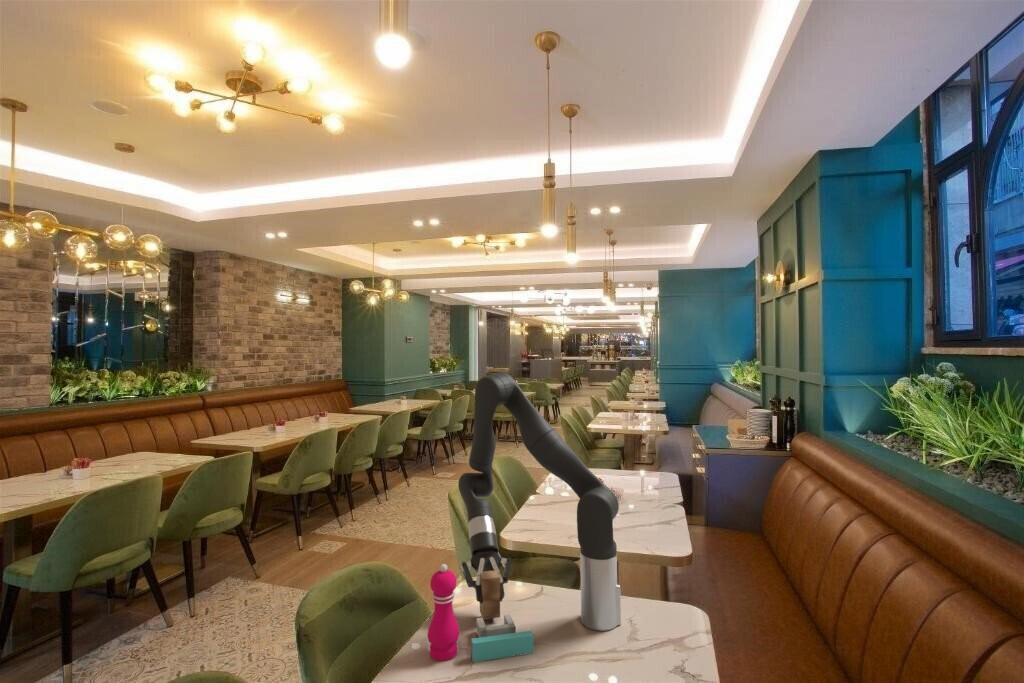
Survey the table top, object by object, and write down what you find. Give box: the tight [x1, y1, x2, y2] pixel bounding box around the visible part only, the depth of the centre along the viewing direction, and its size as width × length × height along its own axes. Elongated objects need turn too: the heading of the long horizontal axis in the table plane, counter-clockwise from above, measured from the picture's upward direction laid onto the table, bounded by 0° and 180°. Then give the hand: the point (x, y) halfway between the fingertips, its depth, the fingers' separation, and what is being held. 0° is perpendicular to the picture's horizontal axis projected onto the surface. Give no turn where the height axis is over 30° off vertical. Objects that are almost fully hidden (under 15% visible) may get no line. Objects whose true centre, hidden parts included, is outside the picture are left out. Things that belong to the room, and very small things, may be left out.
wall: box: [471, 630, 535, 663], centre depth 112 cm, size 14×2×4 cm, turn 103°
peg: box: [479, 570, 501, 620], centre depth 127 cm, size 4×4×10 cm
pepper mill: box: [427, 563, 460, 662], centre depth 113 cm, size 7×7×20 cm
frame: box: [476, 613, 517, 638], centre depth 119 cm, size 8×6×3 cm
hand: (491, 601), depth 125 cm, fingers closed on peg, 4 cm apart
